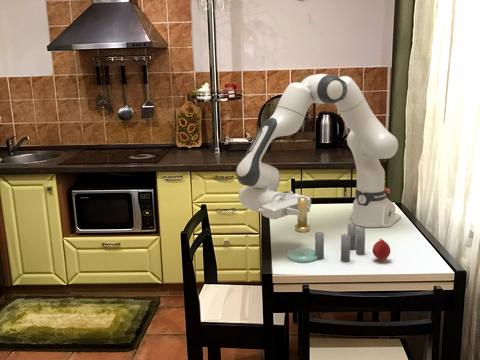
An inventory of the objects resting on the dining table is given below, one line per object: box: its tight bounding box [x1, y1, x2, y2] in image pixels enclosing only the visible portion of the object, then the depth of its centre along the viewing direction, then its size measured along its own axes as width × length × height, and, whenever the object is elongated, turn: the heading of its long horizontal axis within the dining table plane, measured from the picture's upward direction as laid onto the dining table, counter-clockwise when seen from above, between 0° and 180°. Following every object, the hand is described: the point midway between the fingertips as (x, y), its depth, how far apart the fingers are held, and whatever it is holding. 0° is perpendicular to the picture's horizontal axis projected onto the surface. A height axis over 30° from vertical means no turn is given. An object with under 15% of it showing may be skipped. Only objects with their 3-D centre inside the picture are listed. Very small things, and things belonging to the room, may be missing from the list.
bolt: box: [294, 197, 311, 234], centre depth 185 cm, size 5×5×12 cm
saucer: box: [286, 247, 318, 264], centre depth 188 cm, size 11×11×1 cm
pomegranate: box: [372, 237, 391, 262], centre depth 182 cm, size 6×6×8 cm
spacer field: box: [314, 223, 366, 263], centre depth 188 cm, size 18×11×9 cm, turn 134°
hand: (304, 211), depth 184 cm, fingers closed on bolt, 3 cm apart
